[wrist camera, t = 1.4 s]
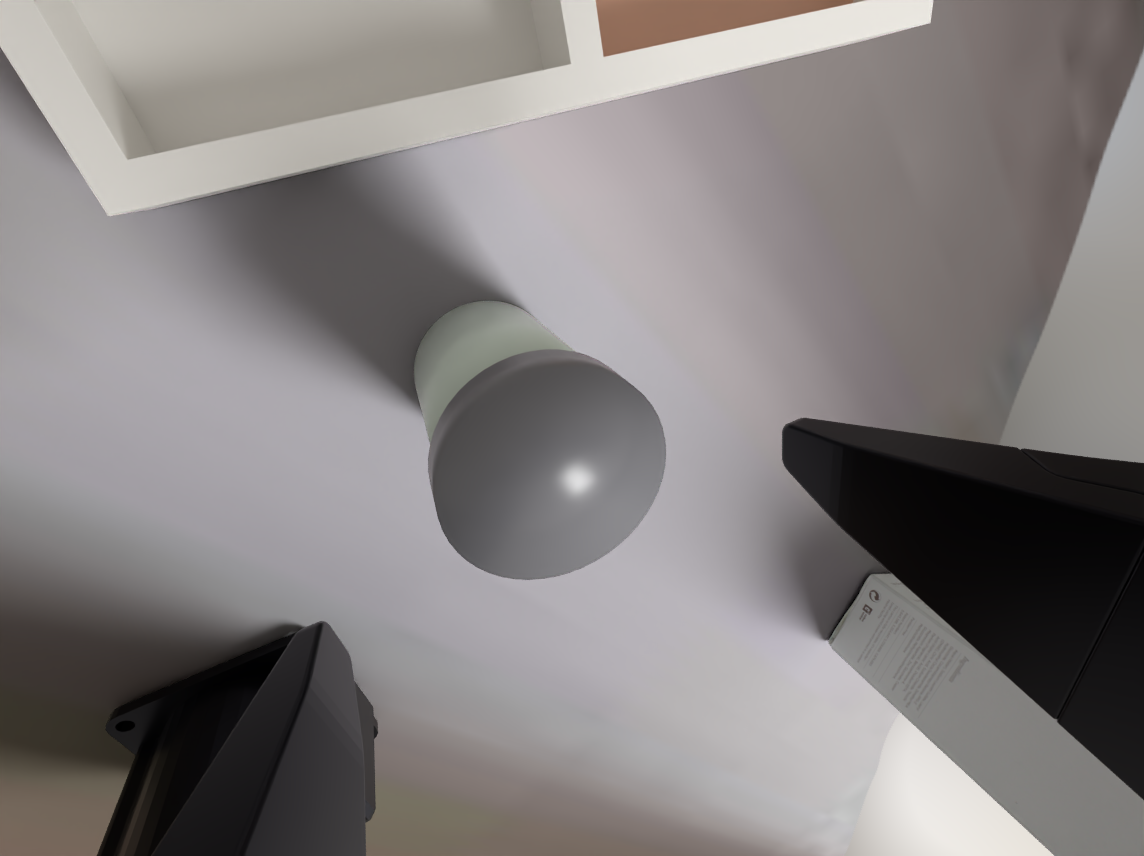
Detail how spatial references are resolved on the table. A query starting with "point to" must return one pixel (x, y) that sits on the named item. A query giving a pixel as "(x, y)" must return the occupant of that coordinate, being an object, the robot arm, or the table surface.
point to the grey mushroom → (531, 444)
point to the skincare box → (987, 724)
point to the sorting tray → (367, 74)
